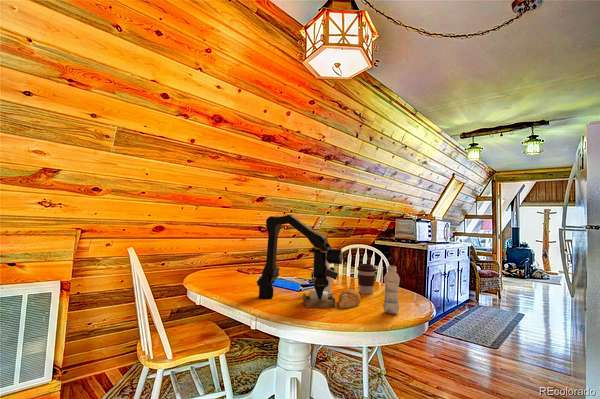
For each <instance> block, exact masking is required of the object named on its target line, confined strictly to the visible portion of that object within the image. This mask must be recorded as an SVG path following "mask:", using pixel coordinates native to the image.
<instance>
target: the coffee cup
mask: <svg viewBox="0 0 600 399" xmlns="http://www.w3.org/2000/svg"><path fill="white" fill-rule="evenodd" d="M356 268H357V269H356V270H357V272H358V273H357V279H358V280H357V281H358V282H357V284H358V291H359V292H358V293H359V294H363V295H373V293H374V287H375V278H376V272H377V267H375V266H374V264H372V263H371V264H370V263H360V264H359V266H357V267H356Z"/></svg>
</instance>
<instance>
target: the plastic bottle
mask: <svg viewBox="0 0 600 399" xmlns="http://www.w3.org/2000/svg"><path fill="white" fill-rule="evenodd" d="M386 267H387V268H386V269H387V270H386V271H387V272H386V273H385V275H384V276H383V281H384V299H383V304H382V308H383V312H385V313H386V314H390V315H393V314H398V313H399V311H400V303H399V286H400V281H401V278H400V275H399V274H398V273H397V271H398V270H397V266H396V265H387V266H386Z"/></svg>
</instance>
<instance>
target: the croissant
mask: <svg viewBox="0 0 600 399" xmlns="http://www.w3.org/2000/svg"><path fill="white" fill-rule="evenodd" d="M361 299H362V298H361V293H360V292H358V291H357V290H356V289H353V288H352V289H351V288H350V289H345V290H343V291H341V292H340V294H339V295H338V307H339V308H340V309H347V308H355V307H358V306H359V304H360V302H361Z"/></svg>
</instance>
